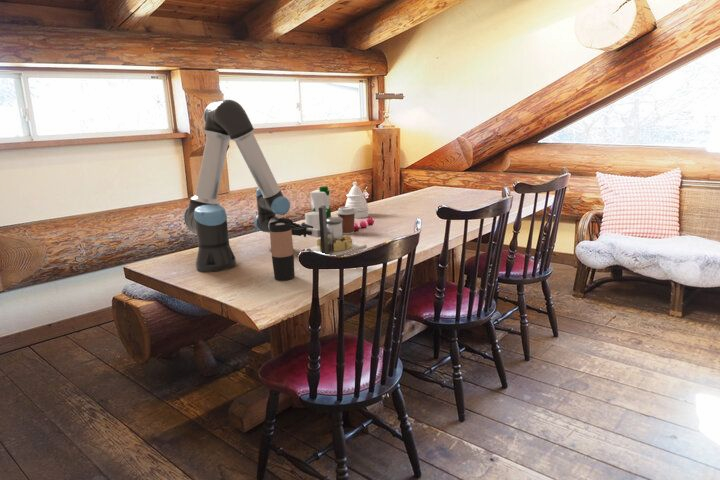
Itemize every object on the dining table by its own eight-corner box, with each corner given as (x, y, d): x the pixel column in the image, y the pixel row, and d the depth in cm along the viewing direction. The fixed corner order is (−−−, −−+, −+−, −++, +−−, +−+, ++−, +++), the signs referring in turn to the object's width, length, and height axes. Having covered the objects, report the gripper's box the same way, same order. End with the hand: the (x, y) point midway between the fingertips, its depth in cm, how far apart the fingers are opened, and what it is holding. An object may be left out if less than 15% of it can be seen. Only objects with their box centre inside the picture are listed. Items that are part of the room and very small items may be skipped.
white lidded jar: (334, 252, 218) (332, 221, 215) (322, 249, 223) (320, 219, 220) (347, 248, 223) (346, 218, 220) (335, 246, 228) (333, 216, 225)
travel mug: (269, 280, 187) (264, 224, 182) (280, 273, 194) (275, 220, 189) (289, 281, 184) (284, 225, 179) (299, 275, 191) (294, 220, 186)
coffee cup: (334, 234, 249) (333, 209, 246) (342, 230, 257) (340, 205, 254) (352, 235, 246) (351, 210, 243) (359, 230, 254) (358, 206, 251)
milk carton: (326, 228, 262) (324, 188, 257) (310, 227, 265) (307, 188, 260) (334, 224, 270) (331, 185, 265) (318, 224, 273) (315, 185, 268)
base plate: (329, 258, 210) (329, 255, 210) (302, 251, 222) (302, 249, 222) (366, 246, 225) (365, 244, 225) (338, 241, 237) (338, 238, 236)
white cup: (320, 235, 248) (319, 214, 246) (304, 235, 250) (302, 214, 247) (324, 231, 256) (323, 211, 253) (309, 231, 257) (307, 211, 255)
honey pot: (344, 214, 295) (342, 182, 290) (367, 212, 296) (365, 180, 291) (346, 219, 282) (344, 185, 278) (370, 217, 283) (368, 183, 279)
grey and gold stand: (362, 253, 211) (360, 203, 206) (322, 259, 206) (318, 208, 201) (346, 241, 231) (343, 195, 226) (309, 245, 227) (306, 199, 222)
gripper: (294, 231, 228) (331, 239, 212) (269, 238, 219) (306, 246, 203) (293, 214, 227) (330, 221, 210) (268, 220, 218) (305, 227, 201)
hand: (318, 233), depth 207 cm, fingers closed
